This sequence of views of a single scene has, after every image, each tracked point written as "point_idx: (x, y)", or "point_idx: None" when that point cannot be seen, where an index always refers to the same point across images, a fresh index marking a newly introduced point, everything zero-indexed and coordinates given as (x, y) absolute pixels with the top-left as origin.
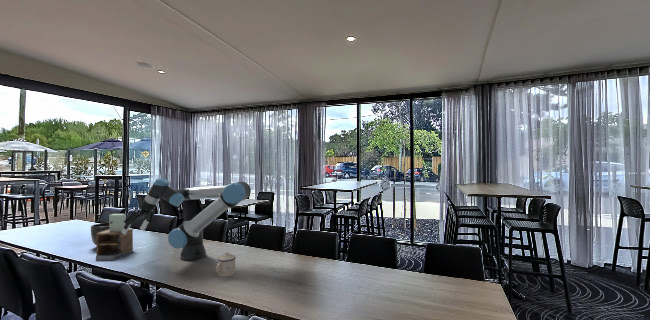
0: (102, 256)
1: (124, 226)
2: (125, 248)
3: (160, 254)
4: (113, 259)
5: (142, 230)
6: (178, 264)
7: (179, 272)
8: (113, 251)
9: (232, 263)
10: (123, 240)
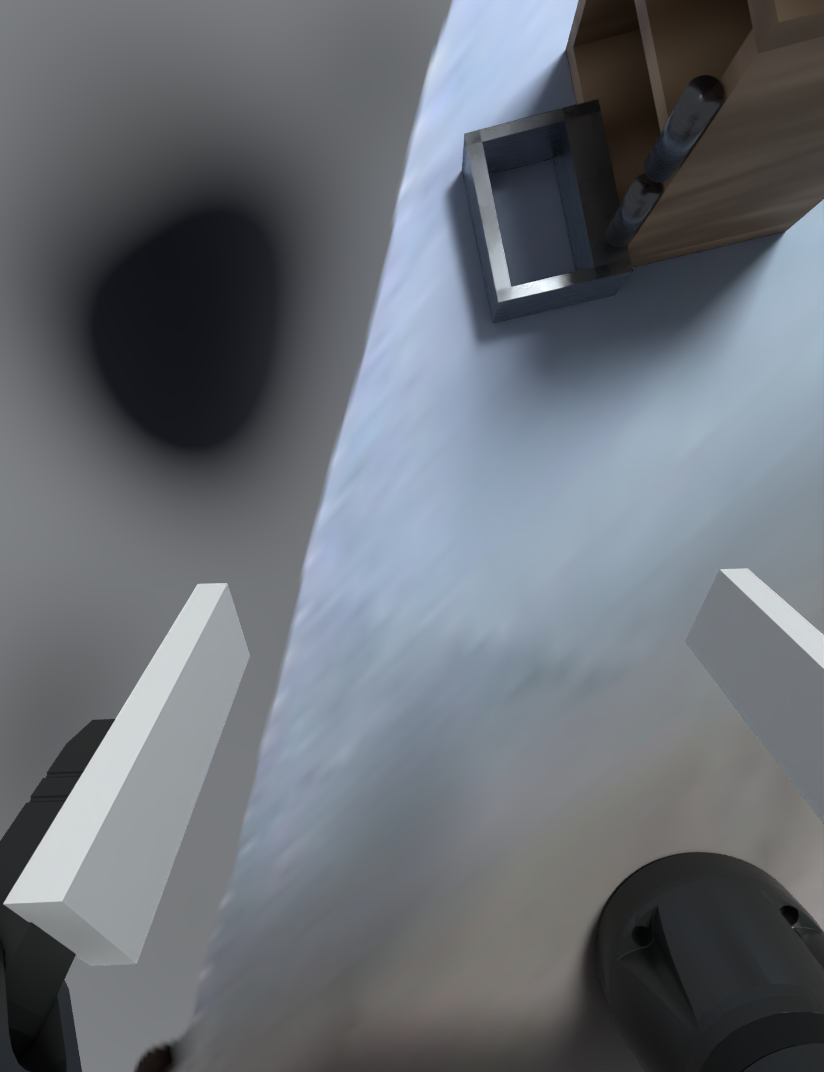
0: (476, 198)
1: (46, 787)
2: (707, 220)
3: None
4: (493, 315)
5: (694, 638)
6: (501, 943)
7: (351, 1056)
8: None
9: None
10: (743, 143)
